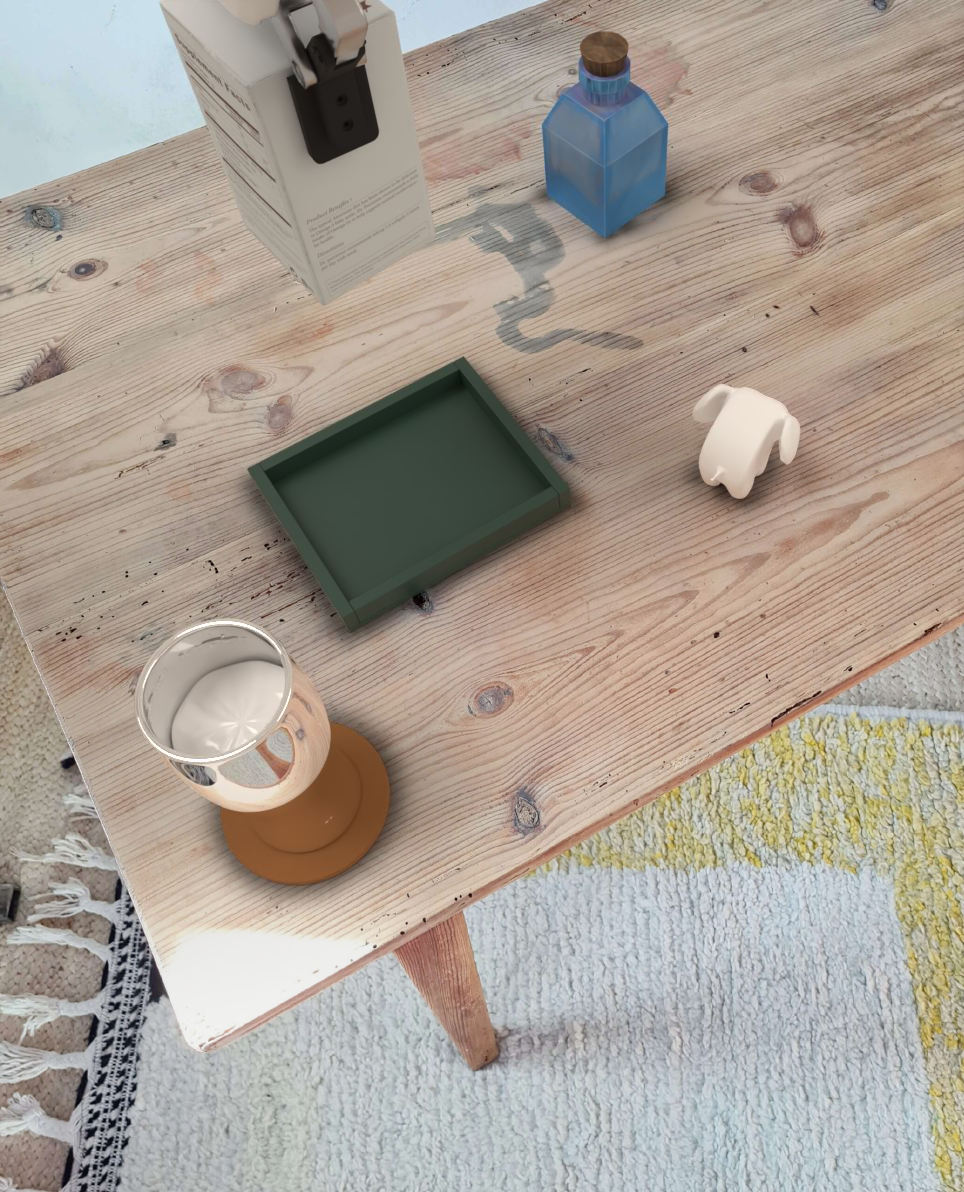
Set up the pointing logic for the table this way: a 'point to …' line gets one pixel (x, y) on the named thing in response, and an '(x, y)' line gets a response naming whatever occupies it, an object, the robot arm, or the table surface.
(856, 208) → the table surface
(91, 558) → the table surface
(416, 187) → the white packaging box
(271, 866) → the coaster
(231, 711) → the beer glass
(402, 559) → the tray
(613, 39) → the perfume bottle
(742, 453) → the elephant figurine
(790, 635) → the table surface
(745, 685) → the table surface
